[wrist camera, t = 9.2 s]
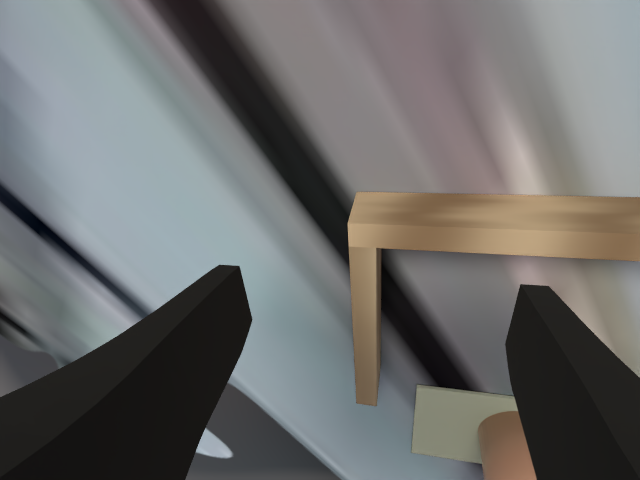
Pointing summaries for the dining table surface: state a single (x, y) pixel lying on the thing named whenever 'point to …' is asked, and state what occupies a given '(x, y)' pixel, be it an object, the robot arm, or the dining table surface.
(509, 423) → the terracotta pot
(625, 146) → the dining table surface
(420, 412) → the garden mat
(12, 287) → the dining table surface
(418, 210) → the tan wooden bent bar
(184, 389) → the robot arm
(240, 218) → the dining table surface
